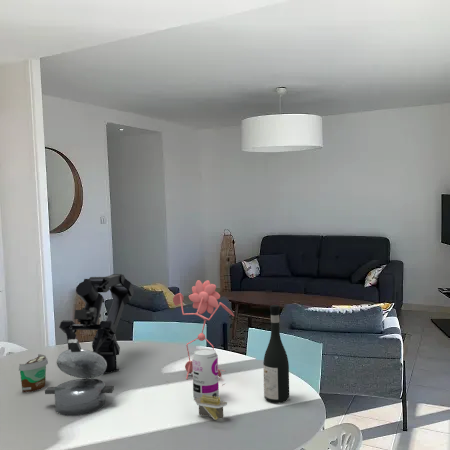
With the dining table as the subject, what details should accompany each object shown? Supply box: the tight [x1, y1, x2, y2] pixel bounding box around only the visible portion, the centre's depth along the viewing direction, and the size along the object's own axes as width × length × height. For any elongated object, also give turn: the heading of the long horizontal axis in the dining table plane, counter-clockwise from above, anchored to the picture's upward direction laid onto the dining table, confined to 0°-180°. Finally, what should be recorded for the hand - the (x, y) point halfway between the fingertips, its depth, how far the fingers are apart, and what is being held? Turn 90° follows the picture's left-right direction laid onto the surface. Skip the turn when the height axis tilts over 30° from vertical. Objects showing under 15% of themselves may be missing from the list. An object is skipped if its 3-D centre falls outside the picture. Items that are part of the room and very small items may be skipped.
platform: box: [194, 395, 228, 421], centre depth 147 cm, size 12×18×7 cm, turn 66°
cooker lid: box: [56, 338, 107, 379], centre depth 160 cm, size 20×16×2 cm
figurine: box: [172, 279, 235, 386], centre depth 183 cm, size 15×26×35 cm, turn 62°
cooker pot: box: [44, 378, 115, 417], centre depth 158 cm, size 15×21×6 cm
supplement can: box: [191, 348, 220, 400], centre depth 162 cm, size 8×8×15 cm
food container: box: [18, 353, 49, 393], centre depth 175 cm, size 12×6×10 cm, turn 168°
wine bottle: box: [262, 304, 290, 404], centre depth 159 cm, size 8×8×30 cm
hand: (82, 351), depth 170 cm, fingers open, 9 cm apart
